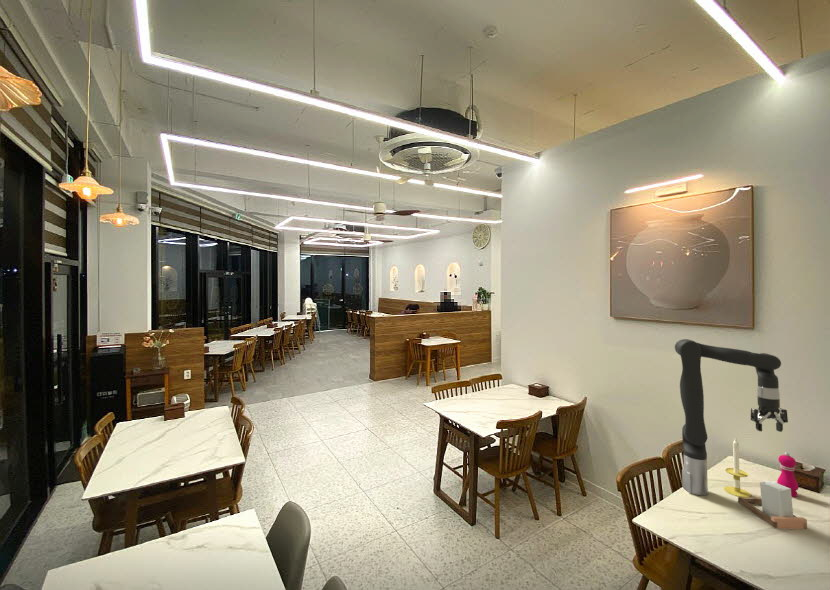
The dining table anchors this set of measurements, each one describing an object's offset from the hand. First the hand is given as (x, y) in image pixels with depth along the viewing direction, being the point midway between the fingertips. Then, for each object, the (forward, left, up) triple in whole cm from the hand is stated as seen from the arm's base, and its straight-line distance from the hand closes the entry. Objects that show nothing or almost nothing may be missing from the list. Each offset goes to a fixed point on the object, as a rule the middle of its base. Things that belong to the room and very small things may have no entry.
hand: (769, 431), depth 170 cm
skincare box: (-9, -14, -33) cm, 37 cm away
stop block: (-9, -20, -33) cm, 40 cm away
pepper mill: (+14, +8, -33) cm, 37 cm away
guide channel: (-9, -11, -33) cm, 36 cm away
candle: (-9, +8, -33) cm, 35 cm away
